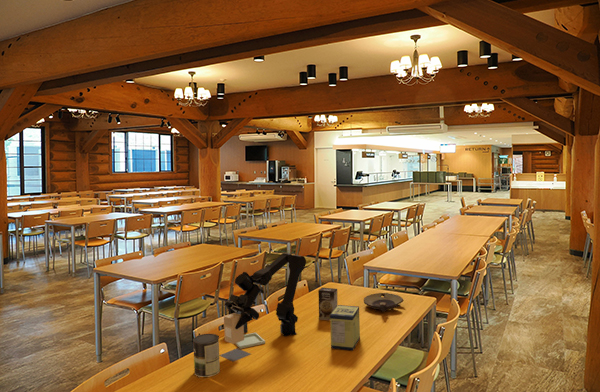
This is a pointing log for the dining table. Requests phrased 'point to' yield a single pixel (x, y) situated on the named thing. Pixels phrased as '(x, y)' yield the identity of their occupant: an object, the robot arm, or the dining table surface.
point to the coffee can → (206, 355)
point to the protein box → (345, 327)
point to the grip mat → (235, 354)
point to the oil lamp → (383, 301)
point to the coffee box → (327, 302)
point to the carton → (233, 328)
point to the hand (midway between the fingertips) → (231, 327)
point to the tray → (250, 341)
